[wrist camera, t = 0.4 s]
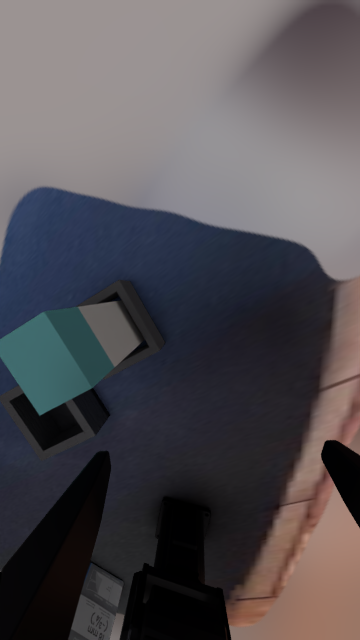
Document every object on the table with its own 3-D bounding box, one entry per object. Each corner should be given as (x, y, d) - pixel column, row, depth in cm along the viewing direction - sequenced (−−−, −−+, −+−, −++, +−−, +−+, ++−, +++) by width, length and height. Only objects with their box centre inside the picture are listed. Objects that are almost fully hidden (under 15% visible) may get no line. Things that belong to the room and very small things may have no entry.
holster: (165, 342, 23) (160, 350, 20) (115, 368, 24) (104, 379, 21) (129, 281, 22) (118, 279, 19) (80, 311, 23) (63, 314, 20)
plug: (147, 337, 23) (92, 387, 11) (119, 352, 24) (39, 415, 12) (125, 299, 22) (43, 311, 11) (97, 316, 23) (-9, 344, 11)
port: (109, 415, 25) (95, 435, 22) (62, 438, 26) (41, 461, 23) (72, 355, 24) (51, 366, 21) (24, 382, 25) (-3, 397, 22)
